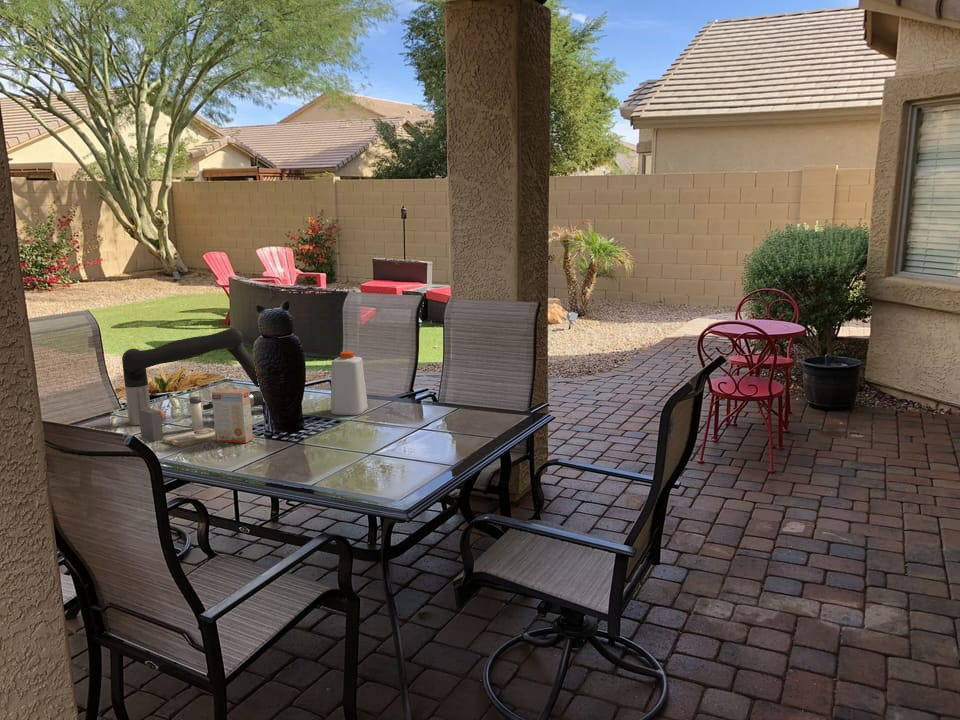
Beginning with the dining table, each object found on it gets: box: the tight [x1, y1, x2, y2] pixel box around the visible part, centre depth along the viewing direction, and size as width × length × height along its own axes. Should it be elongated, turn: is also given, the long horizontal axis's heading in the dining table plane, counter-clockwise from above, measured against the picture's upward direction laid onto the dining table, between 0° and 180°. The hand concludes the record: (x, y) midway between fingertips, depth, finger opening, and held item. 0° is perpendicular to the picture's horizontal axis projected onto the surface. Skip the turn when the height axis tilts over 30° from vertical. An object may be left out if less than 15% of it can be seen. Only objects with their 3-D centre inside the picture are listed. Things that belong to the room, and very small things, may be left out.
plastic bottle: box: [330, 350, 369, 416], centre depth 346 cm, size 15×15×28 cm
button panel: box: [139, 407, 164, 442], centre depth 309 cm, size 10×4×12 cm, turn 52°
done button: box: [157, 409, 166, 421], centre depth 311 cm, size 4×2×4 cm, turn 52°
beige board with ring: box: [162, 426, 216, 448], centre depth 308 cm, size 14×20×2 cm
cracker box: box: [211, 388, 254, 444], centre depth 303 cm, size 14×6×21 cm, turn 74°
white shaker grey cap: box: [189, 395, 204, 431], centre depth 321 cm, size 5×5×14 cm
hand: (209, 409), depth 326 cm, fingers open, 8 cm apart
